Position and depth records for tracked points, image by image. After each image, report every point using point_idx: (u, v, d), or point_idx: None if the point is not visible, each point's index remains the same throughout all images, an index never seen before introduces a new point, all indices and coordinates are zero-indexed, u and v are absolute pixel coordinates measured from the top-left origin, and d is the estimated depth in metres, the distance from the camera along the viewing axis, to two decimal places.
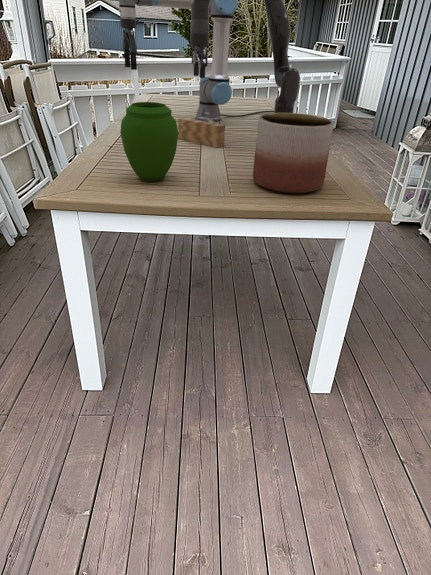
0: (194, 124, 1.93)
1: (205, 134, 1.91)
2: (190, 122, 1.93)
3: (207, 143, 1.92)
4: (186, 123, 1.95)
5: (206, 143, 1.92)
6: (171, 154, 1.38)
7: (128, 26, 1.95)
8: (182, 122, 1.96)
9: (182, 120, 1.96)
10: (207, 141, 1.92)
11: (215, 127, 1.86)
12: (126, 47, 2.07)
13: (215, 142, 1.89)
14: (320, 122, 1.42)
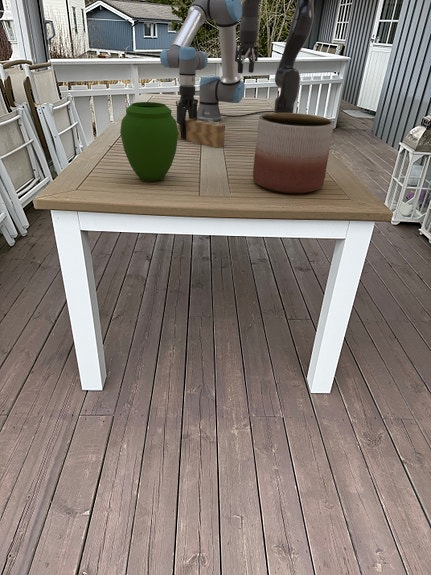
0: (194, 124, 1.93)
1: (205, 134, 1.91)
2: (190, 122, 1.93)
3: (207, 143, 1.92)
4: (186, 123, 1.95)
5: (206, 143, 1.92)
6: (171, 154, 1.38)
7: None
8: None
9: None
10: (207, 141, 1.92)
11: (215, 127, 1.86)
12: None
13: (215, 142, 1.89)
14: (320, 122, 1.42)
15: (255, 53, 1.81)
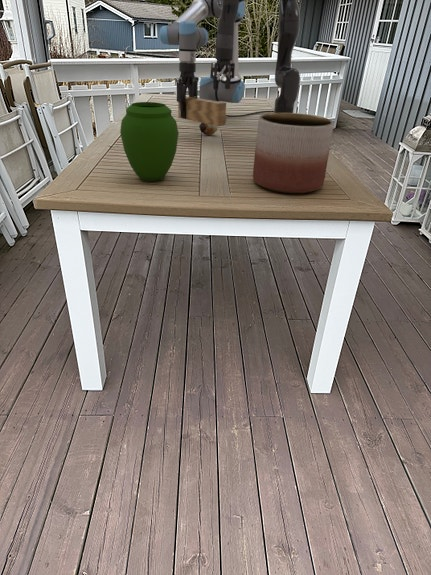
0: (194, 103, 1.88)
1: (205, 112, 1.86)
2: (190, 100, 1.88)
3: (208, 122, 1.87)
4: (186, 101, 1.90)
5: (207, 121, 1.87)
6: (171, 154, 1.38)
7: None
8: None
9: None
10: (208, 120, 1.87)
11: (216, 104, 1.81)
12: None
13: (216, 121, 1.84)
14: (320, 122, 1.42)
15: (231, 70, 1.81)
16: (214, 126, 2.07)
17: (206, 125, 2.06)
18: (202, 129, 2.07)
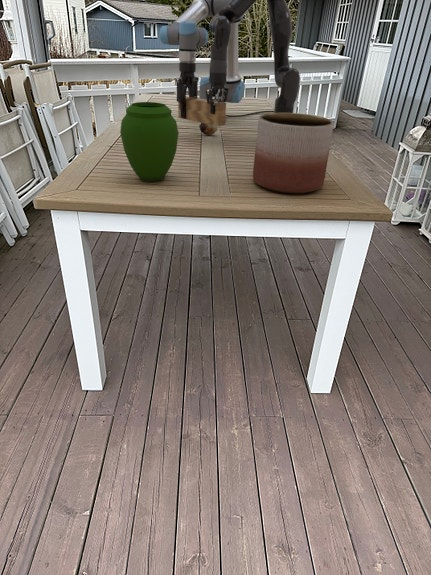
0: (194, 103, 1.88)
1: (205, 112, 1.86)
2: (190, 100, 1.88)
3: (208, 122, 1.87)
4: (186, 101, 1.90)
5: (207, 121, 1.87)
6: (171, 154, 1.38)
7: None
8: None
9: None
10: (207, 120, 1.87)
11: (216, 104, 1.81)
12: None
13: (216, 121, 1.84)
14: (320, 122, 1.42)
15: (225, 94, 1.85)
16: (214, 126, 2.07)
17: (206, 125, 2.06)
18: (202, 129, 2.07)
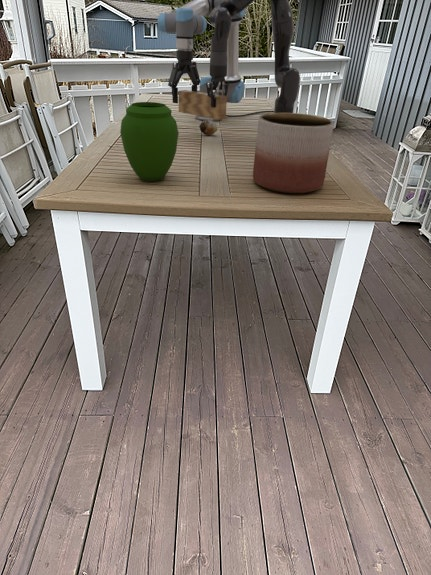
0: (195, 96, 1.86)
1: (206, 105, 1.84)
2: (191, 94, 1.87)
3: (208, 115, 1.86)
4: (186, 95, 1.89)
5: (208, 115, 1.86)
6: (171, 154, 1.38)
7: None
8: (182, 94, 1.90)
9: (182, 92, 1.89)
10: (208, 114, 1.86)
11: (217, 98, 1.79)
12: None
13: (217, 114, 1.83)
14: (320, 122, 1.42)
15: (225, 87, 1.83)
16: (214, 126, 2.07)
17: (206, 125, 2.06)
18: (202, 129, 2.07)
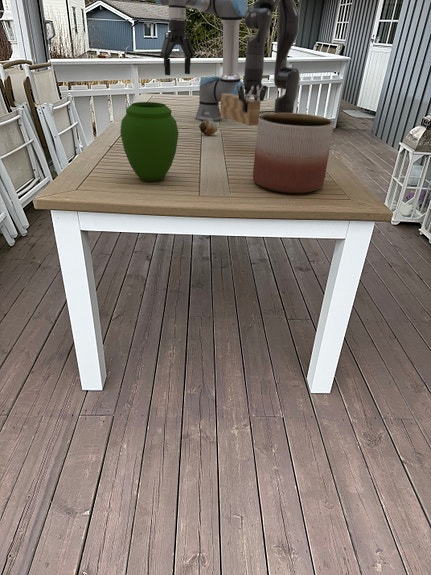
0: (232, 100, 1.80)
1: (240, 110, 1.77)
2: (229, 97, 1.81)
3: (241, 120, 1.78)
4: (226, 98, 1.84)
5: (241, 120, 1.78)
6: (171, 154, 1.38)
7: None
8: (223, 97, 1.85)
9: (224, 95, 1.85)
10: (241, 119, 1.78)
11: (248, 102, 1.71)
12: None
13: (247, 120, 1.74)
14: (320, 122, 1.42)
15: (262, 92, 1.73)
16: (214, 126, 2.07)
17: (206, 125, 2.06)
18: (202, 129, 2.07)
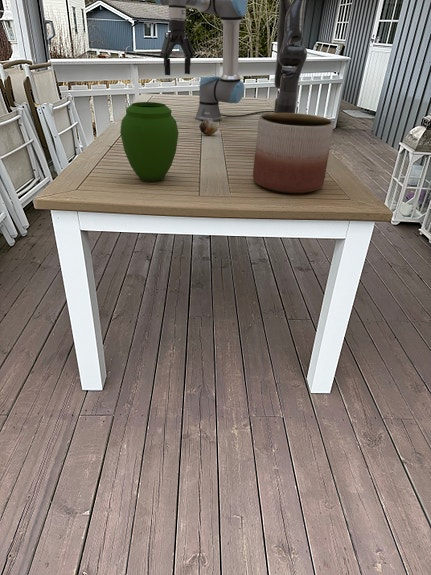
0: None
1: None
2: None
3: None
4: None
5: None
6: (171, 154, 1.38)
7: None
8: None
9: None
10: None
11: None
12: None
13: None
14: (320, 122, 1.42)
15: None
16: (214, 126, 2.07)
17: (206, 125, 2.06)
18: (202, 129, 2.07)
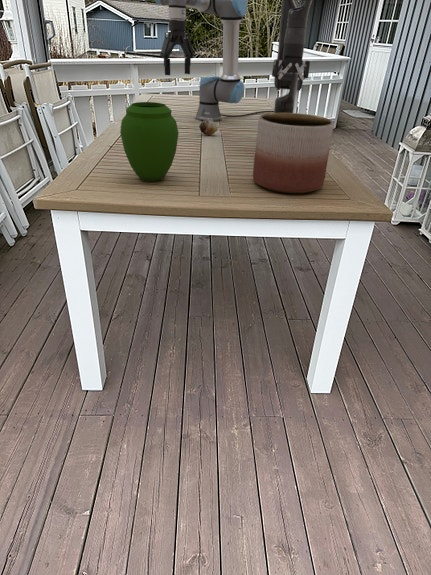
0: None
1: None
2: None
3: None
4: None
5: None
6: (171, 154, 1.38)
7: None
8: None
9: None
10: None
11: None
12: None
13: None
14: (320, 122, 1.42)
15: (305, 69, 1.58)
16: (214, 126, 2.07)
17: (206, 125, 2.06)
18: (202, 129, 2.07)
